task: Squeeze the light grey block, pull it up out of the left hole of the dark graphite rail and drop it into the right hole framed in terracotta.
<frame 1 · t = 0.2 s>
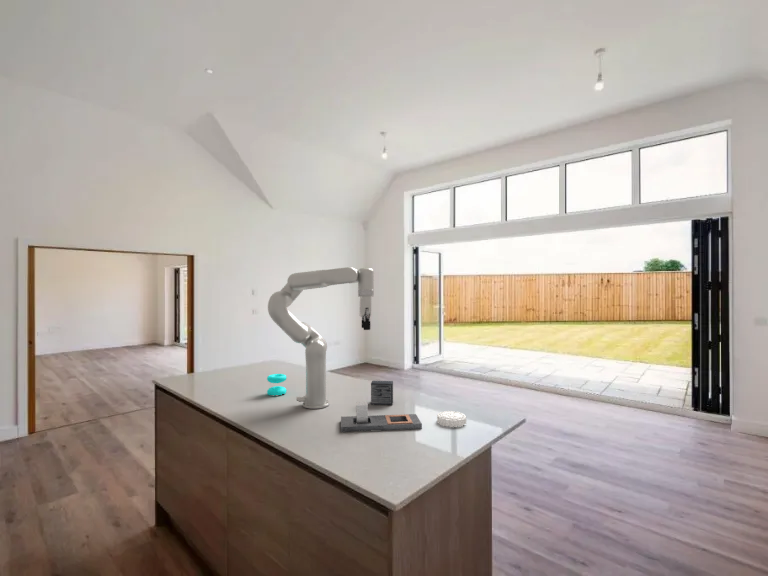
hand: (365, 328, 184), 36 cm above the table, tool pointing down, fingers open, 9 cm apart
rail: (380, 425, 155), on the table
small box: (382, 403, 185), on the table
donuts: (276, 394, 201), on the table
white bumpy disc: (451, 423, 158), on the table
light grey block: (362, 425, 154), resting in rail
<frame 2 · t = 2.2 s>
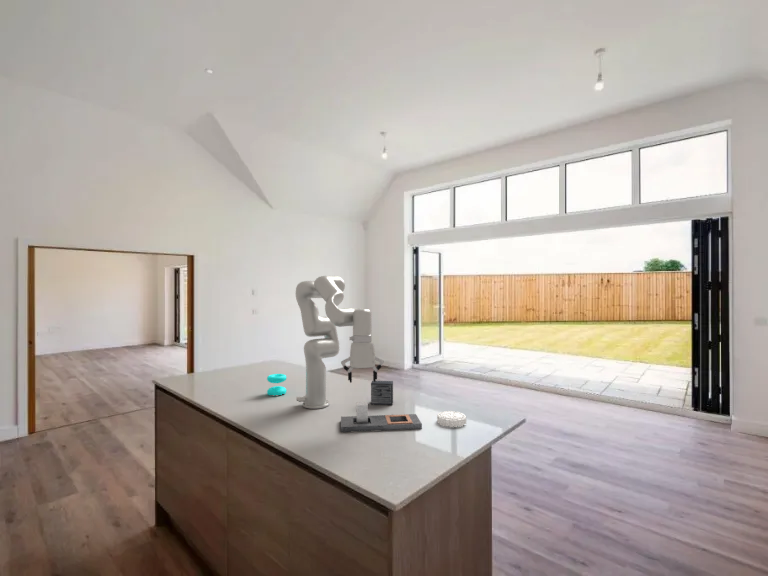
hand: (362, 381, 154), 18 cm above the table, tool pointing down, fingers open, 9 cm apart
nothing on the table moved.
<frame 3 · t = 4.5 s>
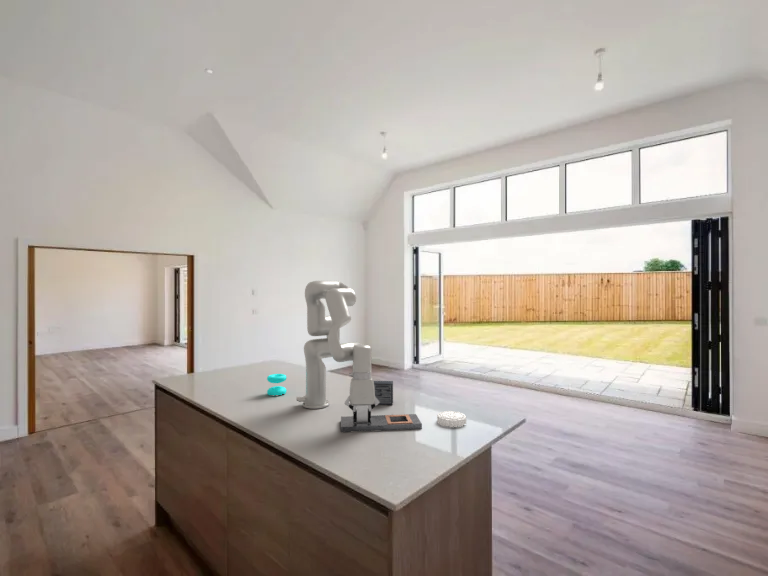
hand: (362, 419, 154), 2 cm above the table, tool pointing down, fingers closed on light grey block, 4 cm apart
light grey block: (362, 425, 154), resting in rail, touching gripper
everything else where it was.
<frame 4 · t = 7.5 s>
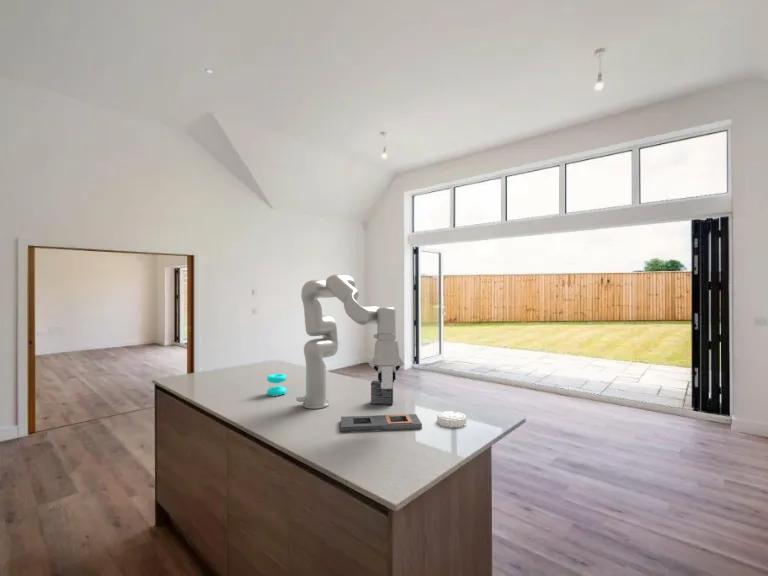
hand: (386, 381, 155), 18 cm above the table, tool pointing down, fingers closed on light grey block, 4 cm apart
light grey block: (386, 387, 155), point 15 cm above the table, touching gripper
everything else where it was.
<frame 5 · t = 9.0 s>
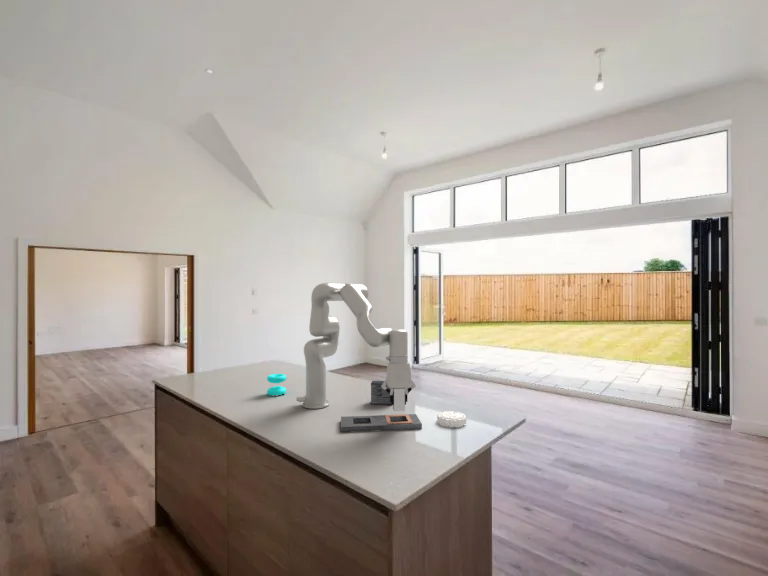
hand: (398, 403, 156), 9 cm above the table, tool pointing down, fingers closed on light grey block, 4 cm apart
light grey block: (398, 409, 155), point 6 cm above the table, touching gripper
everything else where it was.
when the fingers open (3 cm above the table, at t = 10.4 s): light grey block stays where it is, resting in rail.
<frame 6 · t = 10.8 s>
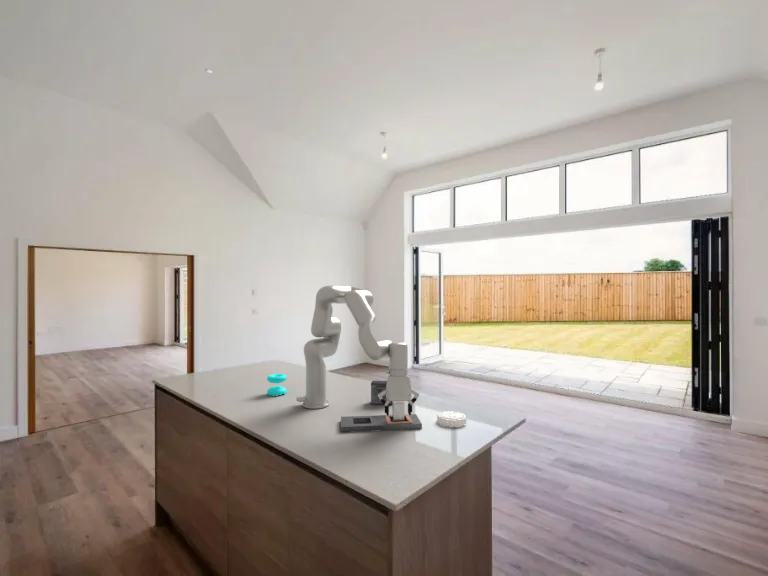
hand: (398, 414, 156), 4 cm above the table, tool pointing down, fingers open, 8 cm apart
light grey block: (398, 424, 156), resting in rail
everything else where it was.
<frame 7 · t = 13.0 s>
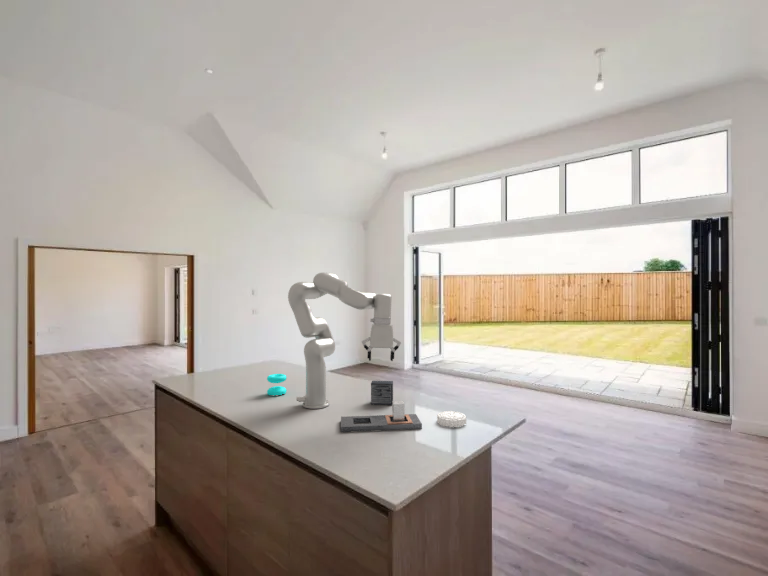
hand: (380, 360, 167), 24 cm above the table, tool pointing down, fingers open, 9 cm apart
nothing on the table moved.
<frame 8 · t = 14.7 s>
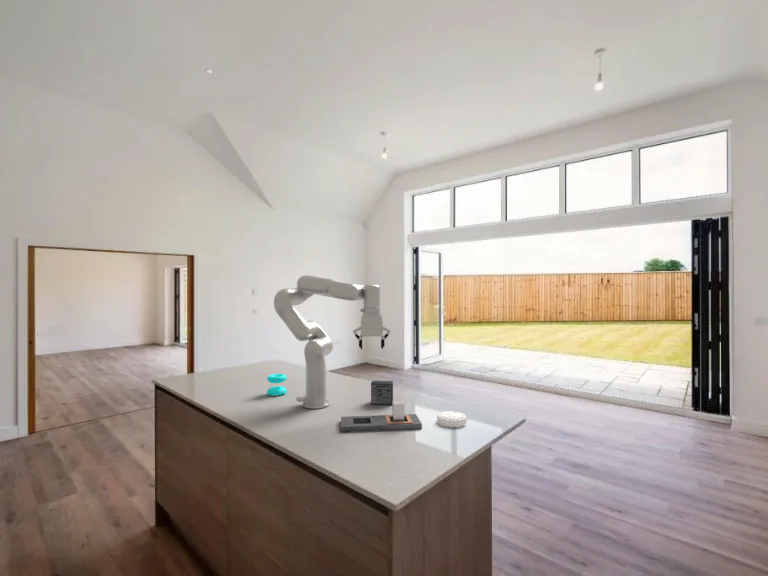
hand: (371, 348, 175), 28 cm above the table, tool pointing down, fingers open, 9 cm apart
nothing on the table moved.
at the end: light grey block 0.1 cm from the target spot on the rail, point 0.0 cm above the rail's base; light grey block tilted 0°; the gripper is holding nothing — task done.
